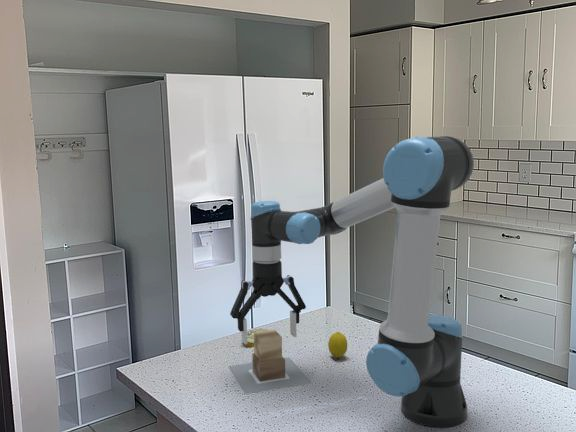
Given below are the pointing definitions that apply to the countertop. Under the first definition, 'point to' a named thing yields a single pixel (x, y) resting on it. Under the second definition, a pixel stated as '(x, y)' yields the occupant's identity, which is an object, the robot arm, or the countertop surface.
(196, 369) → the countertop surface
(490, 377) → the countertop surface
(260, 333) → the oak cube
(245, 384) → the grey square plate
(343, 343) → the lemon
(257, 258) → the robot arm
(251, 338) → the decorated donut
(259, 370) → the walnut base
